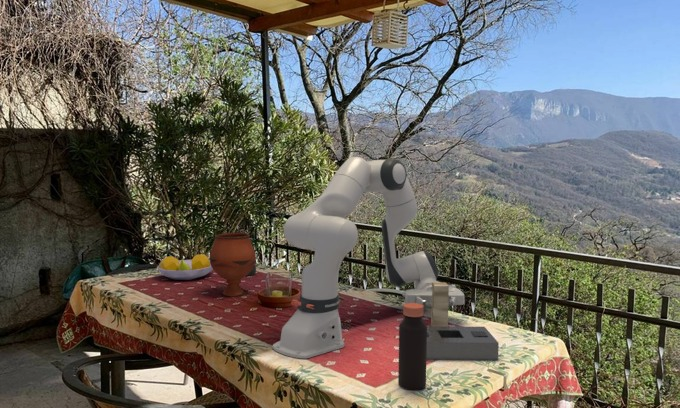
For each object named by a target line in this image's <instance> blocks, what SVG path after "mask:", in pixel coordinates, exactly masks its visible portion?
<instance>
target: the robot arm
mask: <svg viewBox="0 0 680 408" xmlns="http://www.w3.org/2000/svg"><path fill="white" fill-rule="evenodd" d="M364 193H381V194H382V198H383V202H384V203H383V204H384V206H385V212H386V214H385V218H384V219H383V220H382V221H381V234H382V243H383V250H384V251H383V252H384V258H385V261H384V262H385V275H386V276H385V277H386V279H387V281H388V282H389V285H392V286H393V287H396V288H401V287H403V286H405V285H407V284H409V283H413V286H414V287H413V288H411V289H406V290H405V291H404V292H402V297H404V304H407V303H417V304H421V305H423V306H424V307H425V306H427V307H432V282H437V283H442V282H441V281H438V280H437V279H438V276H439V268H438V265H437V263H436V261H435V258H434V257H433V256H432V255H431V254H430V253H429V252H428V251H425V250H421V251H418V252H414V253H412V254H408V255H407V256H404V257H400V258H397V254H396V253H397V252H396V245H395V239H396V237H397V235H399V233H400V232H401V231H403V229H404V228H407V227H408V225H410V224H411V223H412V222H413V221H414V219H415V218H416V216H417V214H418V203H417V199H416V196H415V192H414V190H413V187H412V185H411V183H410V180H409V179H408V176H407V171H406V167H405V165H404V164H403V163H402V161H400V160H399V159H396V158H387V159H374V160H368V161H367V160H365V158H362V157H359V156H351V157H350V158H347V160H345V161H344V162H343V164H341V166H340V167H339V168H338V170H337V171H336V172H335V174H334V175H333V176H332V178H331V180H330V181H329V183H328V185H326V188H325V189H324V190H323V192H322V193H321V194H320V195H319V197H317V199H315V200H314V201H313V202H312V203H311V204H309V206H307V207H306V208H304V209H303V210H302V211H300V212H298V213H296V214H294V215H291V216H289V217H288V219H287V220H286V221H285V224H284V227H283V235H284V239H285V240H286V242H287V243H288V244H290V245H292V246H294V247H296V248H298V249H302V250H311V251H314V256H313V260H312V262H311V263H309V264H307V265H305V267H304V268H303V269H302V271H301V294H300V296H299V299H295V298H294V299H292V300H291V306H293V307H296V308H297V310H296V311H295V312H294V313H293V314H292V316H290V318H289V319H288V321H287V322H285V324H284V325H283V326H282V327H281V334H280V340H279V341H277V342H274V343H273V344H272V349H273V350H274V351H275V352H277V353H279V354H281V355H284V356H287V357H289V358H290V357H291V358H294V359H295V358H297V359H310V358H313V357H316V356H317V357H318V356H319V355H323V354H325V353H329V352H333V351H336V350H338V349H342V348H345V342H344V340H343V335H342V334H343V332H342V323H341V317H340V314H339V310H338V309H339V308H340V302H339V300H340V299H339V296H340V295H339V289H338V286H339V272H340V267H341V266H342V265H341V264H342V262H343V260H344V258H345V257H346V256H347V255H348V254H349V253H350V252H351V251H353V250H354V248H355V246H356V245H357V243H358V239H359V231H358V228H357V225H356V224H355V222H354V221H352V220H350V219H347V218H346V217H348V216H349V215H351V214H352V213H353V212H354V210H355V208H356V206H357V205H358V203H359V201H360V200H361V197H362V196H363V194H364ZM447 284H448V286H449V296H448V306H449V307H455V306H463V305H464V304H465V294H464V292H463V291H462V290H461V289H459V288H458V287H456V286H457V285H455V284H452V283H447Z"/></svg>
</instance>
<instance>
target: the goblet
mask: <svg viewBox="0 0 680 408" xmlns="http://www.w3.org/2000/svg"><path fill="white" fill-rule="evenodd" d="M214 237H215V238H214V241H213V244H212V246H211V250H210V253H209V261H210V264H211V267H212V268H213V271H214V272H215V273H216V274H217V276H219V277H220V278H223V279H224V280H226V284H227V286H226V287H225V288H224V289H223V292H222V295H224V296H225V297H236V296H237V297H238V296H241V295H243V294H244V289H243V288H242V287H241V286H240V283H242V279H244V278H246V277H245V276H246V275H248V274H249V272H250V271H251V270H252V269H253V267H254V265H255V262H256V263H257V260H256V259H257V256H256V252H255V248H254V246H253V244H252V241H251V239H250V238H251V235H250V234H249V233H245V232H226V233H219V234H217V235H215V236H214Z"/></svg>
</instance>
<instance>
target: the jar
mask: <svg viewBox="0 0 680 408" xmlns="http://www.w3.org/2000/svg"><path fill="white" fill-rule="evenodd" d="M256 272H257V261H256V262H255V265H254V267H253V269H252V270H251V271H250V272H249V274H248V275H246V277H245V278H248V277H247V276H250V277H254V276H255V275H256ZM253 275H254V276H253Z"/></svg>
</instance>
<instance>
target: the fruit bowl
mask: <svg viewBox="0 0 680 408" xmlns="http://www.w3.org/2000/svg"><path fill="white" fill-rule="evenodd" d="M156 269H157V270H158V271H159V273H160V274H161V275H162V276H164V277H167V278H168V279H172V280H179V281H180V280H181V281H183V280H184V281H191V280H195V279H197V278H201V277H203V276H206V275H208V274H210V272H213V271H214V270H213V268H212V267H211V264H210V258H208V256H207V255H206V254H204V253H203V254H201V253H200V254H195V255H194V256H193V258H192V259H180V260H179V259H178V258H176V257H175V256H173V255H169V256H165V257H164V258H162V259H161V260H160V263H159V265H157V266H156Z"/></svg>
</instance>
